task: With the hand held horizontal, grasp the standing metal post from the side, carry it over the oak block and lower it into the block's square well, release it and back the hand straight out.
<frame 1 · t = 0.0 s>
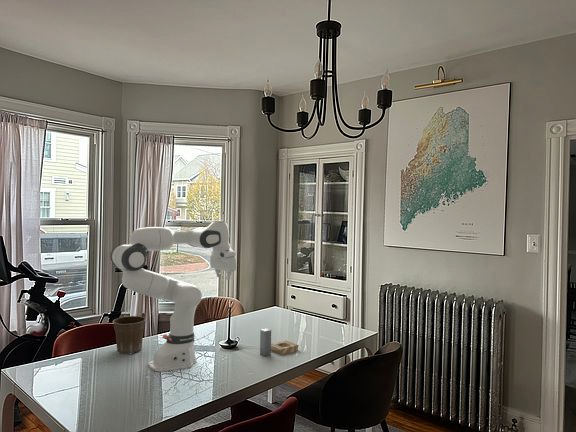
hand: (223, 278, 232), 39 cm above the table, tool pointing down, fingers open, 8 cm apart
post: (265, 354, 230), on the table
plant pot: (129, 350, 234), on the table
well block: (283, 350, 238), on the table
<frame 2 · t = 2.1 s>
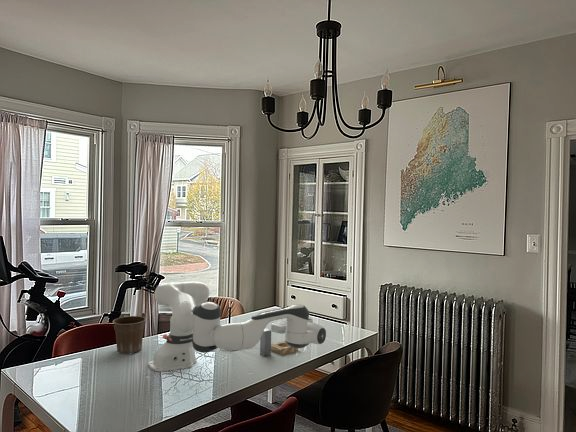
hand: (280, 321, 220), 20 cm above the table, tool horizontal, fingers open, 8 cm apart
nothing on the table moved.
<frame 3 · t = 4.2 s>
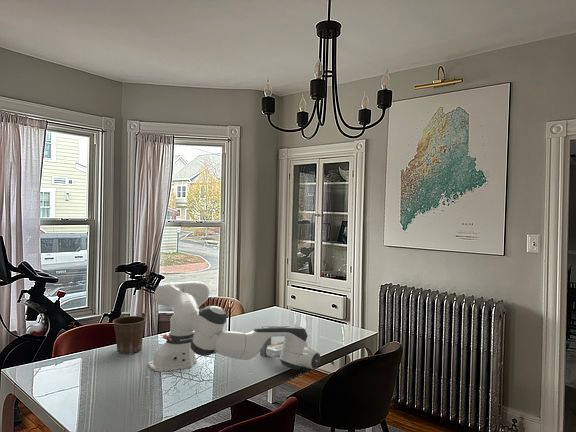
hand: (275, 344, 224), 7 cm above the table, tool horizontal, fingers open, 8 cm apart
nothing on the table moved.
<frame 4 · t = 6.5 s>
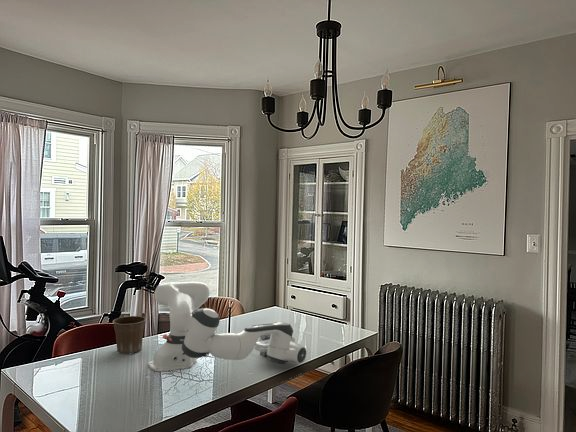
hand: (264, 339, 231), 8 cm above the table, tool horizontal, fingers closed on post, 4 cm apart
post: (265, 354, 230), on the table, touching gripper
everything else where it was.
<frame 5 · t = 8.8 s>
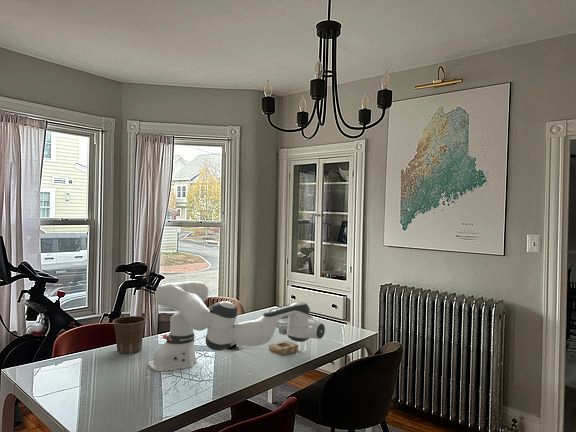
hand: (283, 318, 238), 17 cm above the table, tool horizontal, fingers closed on post, 4 cm apart
post: (284, 333, 237), point 9 cm above the table, touching gripper
everything else where it was.
when the fingers open (9 cm above the table, at t = 11.0 s): post drops 1 cm, resting in well block.
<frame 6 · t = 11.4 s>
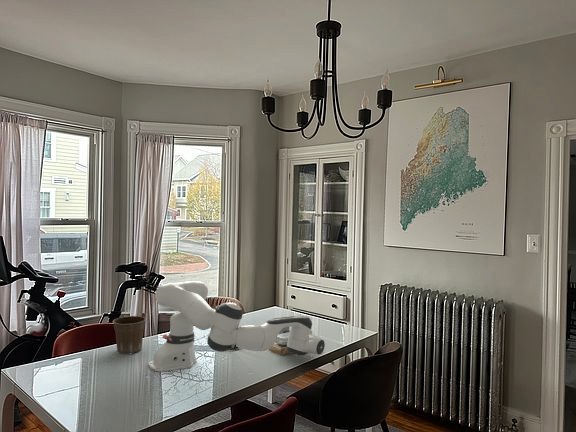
hand: (282, 333, 239), 9 cm above the table, tool horizontal, fingers open, 8 cm apart
post: (283, 350, 238), resting in well block
everything else where it was.
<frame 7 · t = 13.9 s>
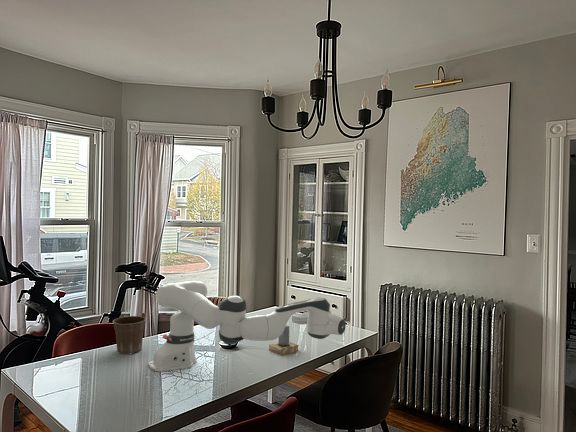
hand: (299, 313, 229), 22 cm above the table, tool horizontal, fingers open, 8 cm apart
nothing on the table moved.
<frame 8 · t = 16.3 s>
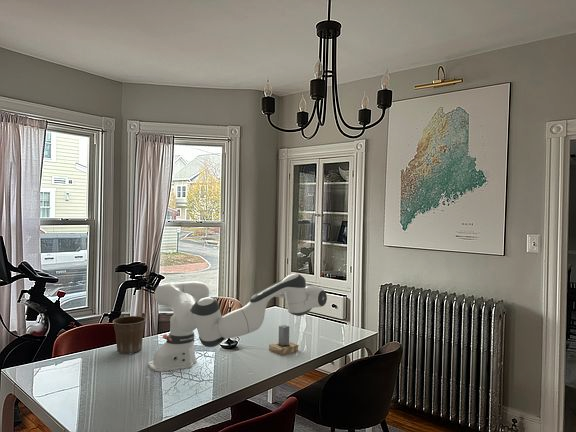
hand: (281, 288, 222), 36 cm above the table, tool horizontal, fingers open, 8 cm apart
nothing on the table moved.
at the end: post 0.1 cm off-centre on the well block, point 0.0 cm above the well block's base; post tilted 0°; the gripper is holding nothing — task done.
